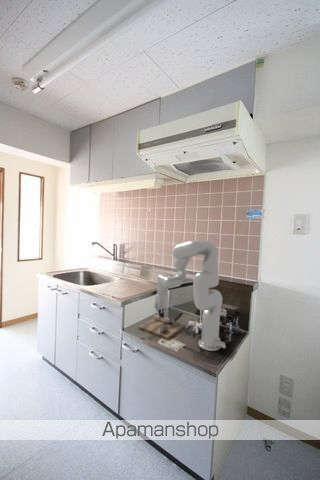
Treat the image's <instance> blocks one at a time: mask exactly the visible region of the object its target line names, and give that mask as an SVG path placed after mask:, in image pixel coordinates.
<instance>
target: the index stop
mask: <svg viewBox="0 0 320 480" xmlns="http://www.w3.org/2000/svg"><path fill="white" fill-rule="evenodd" d="M167 330H168V326H167V325H164V326H162V327H161V328H160V333H165V332H166V331H167Z"/></svg>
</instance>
